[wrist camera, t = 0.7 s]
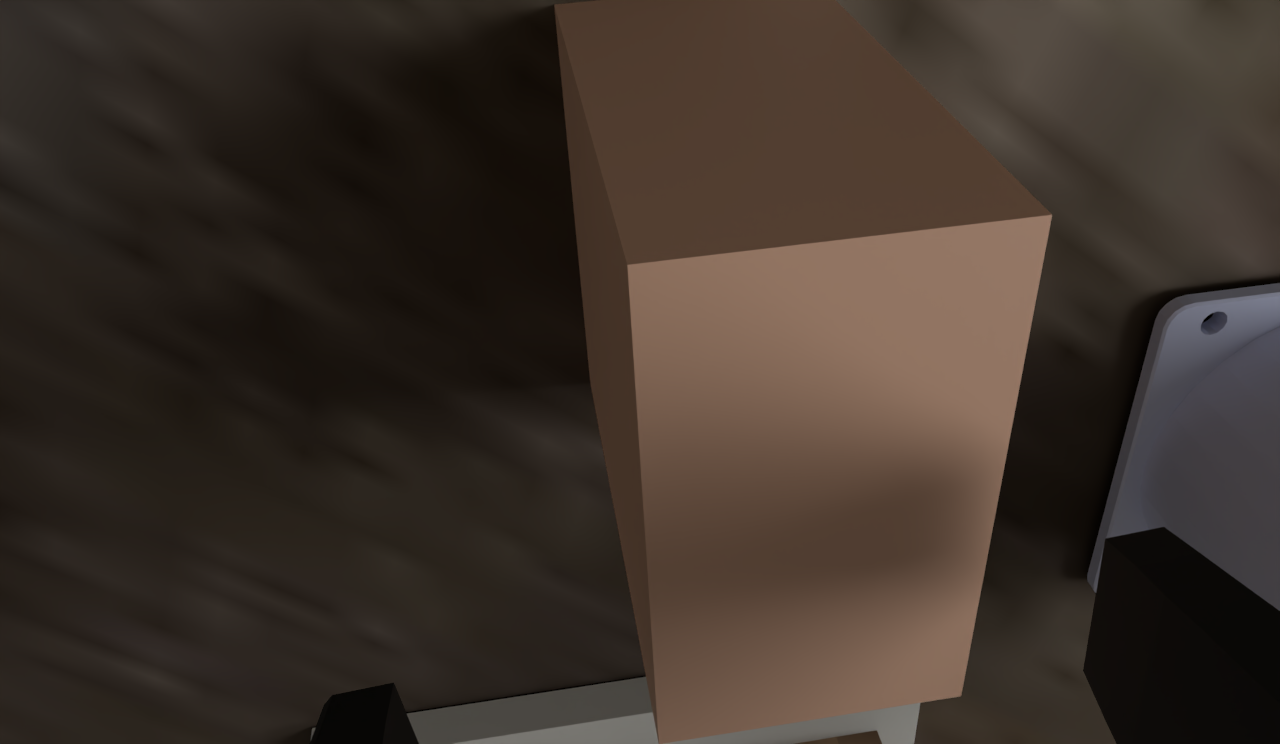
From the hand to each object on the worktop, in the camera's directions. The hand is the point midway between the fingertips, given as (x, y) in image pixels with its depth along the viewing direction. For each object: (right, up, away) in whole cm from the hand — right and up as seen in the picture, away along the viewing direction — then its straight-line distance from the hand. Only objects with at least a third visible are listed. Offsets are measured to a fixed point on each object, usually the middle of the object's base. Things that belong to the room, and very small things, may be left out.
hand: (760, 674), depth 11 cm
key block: (0, +6, +7) cm, 9 cm away
